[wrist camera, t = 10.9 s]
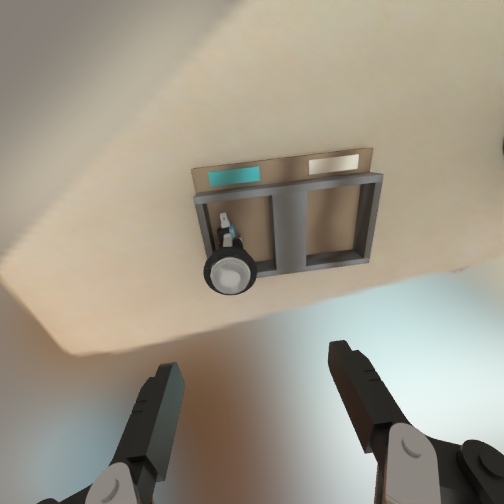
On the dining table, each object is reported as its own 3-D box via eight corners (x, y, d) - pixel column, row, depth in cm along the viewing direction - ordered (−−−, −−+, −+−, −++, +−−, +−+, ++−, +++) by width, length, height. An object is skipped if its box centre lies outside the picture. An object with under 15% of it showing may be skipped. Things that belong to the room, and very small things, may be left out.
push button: (203, 216, 27) (189, 248, 18) (243, 207, 27) (248, 234, 18) (218, 259, 30) (211, 306, 21) (253, 251, 30) (262, 294, 21)
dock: (366, 148, 26) (389, 147, 22) (352, 252, 33) (369, 267, 29) (193, 168, 26) (185, 171, 22) (215, 270, 32) (212, 287, 28)
